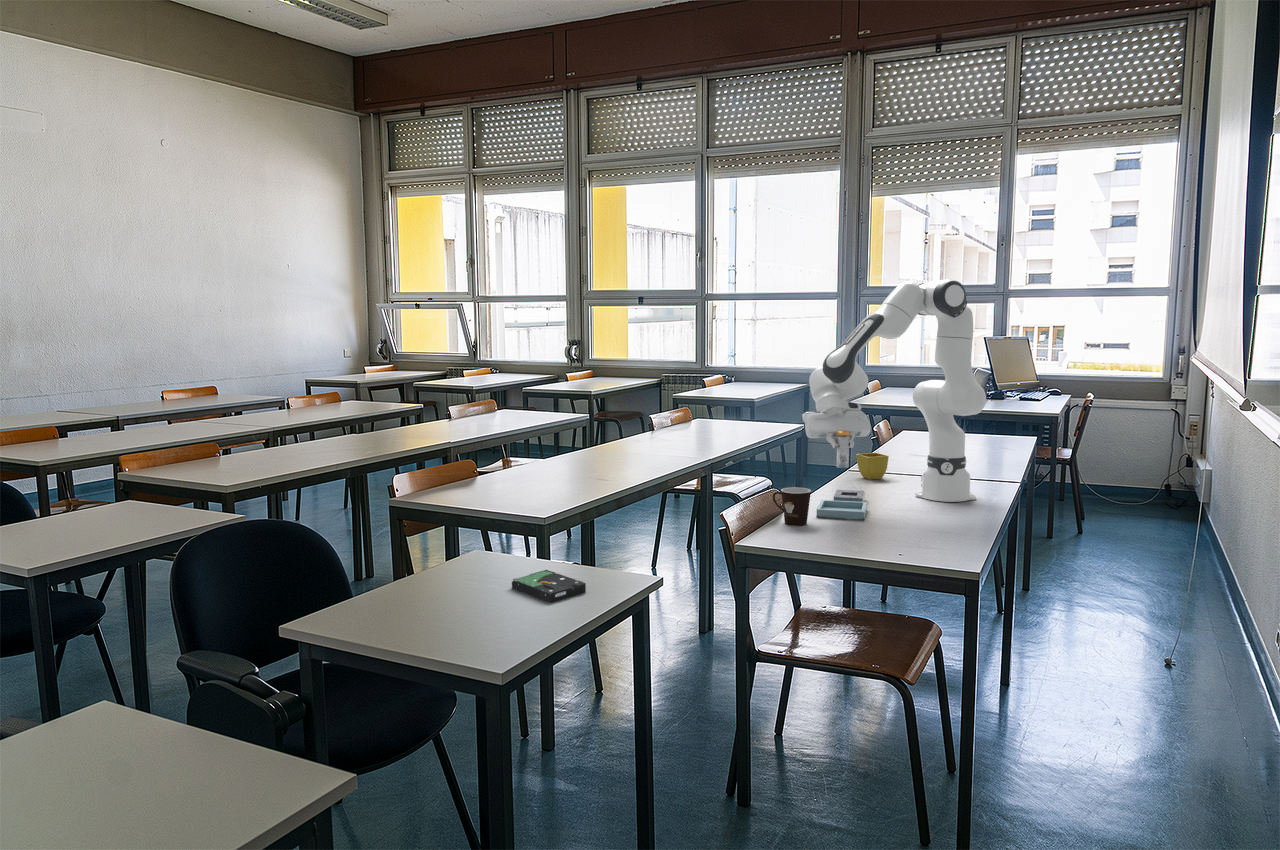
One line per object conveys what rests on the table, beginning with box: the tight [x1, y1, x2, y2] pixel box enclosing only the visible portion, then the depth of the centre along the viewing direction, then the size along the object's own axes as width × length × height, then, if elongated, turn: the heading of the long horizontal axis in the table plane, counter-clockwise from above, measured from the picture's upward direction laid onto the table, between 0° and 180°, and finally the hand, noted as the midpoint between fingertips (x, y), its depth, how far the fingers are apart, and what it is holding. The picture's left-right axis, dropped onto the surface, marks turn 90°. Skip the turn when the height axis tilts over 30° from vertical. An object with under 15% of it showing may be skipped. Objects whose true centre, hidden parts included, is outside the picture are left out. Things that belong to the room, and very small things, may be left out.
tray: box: [816, 499, 868, 520], centre depth 261 cm, size 14×14×2 cm
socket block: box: [833, 489, 866, 502], centre depth 276 cm, size 12×9×3 cm
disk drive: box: [511, 569, 587, 604], centre depth 192 cm, size 10×3×15 cm
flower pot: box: [855, 452, 889, 480], centre depth 317 cm, size 9×9×9 cm
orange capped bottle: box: [836, 431, 850, 469], centre depth 259 cm, size 4×4×11 cm
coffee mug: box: [772, 487, 812, 527], centre depth 251 cm, size 12×9×10 cm
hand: (843, 446), depth 258 cm, fingers closed on orange capped bottle, 4 cm apart
